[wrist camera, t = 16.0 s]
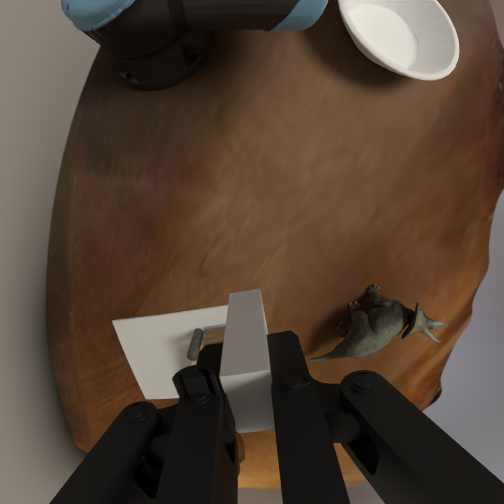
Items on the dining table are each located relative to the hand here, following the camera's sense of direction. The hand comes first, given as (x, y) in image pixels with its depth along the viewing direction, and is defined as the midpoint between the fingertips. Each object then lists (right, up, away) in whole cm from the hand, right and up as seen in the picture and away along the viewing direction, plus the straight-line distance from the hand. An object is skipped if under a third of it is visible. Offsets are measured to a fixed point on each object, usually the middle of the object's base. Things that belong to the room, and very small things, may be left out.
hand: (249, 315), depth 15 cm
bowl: (+22, +39, +21) cm, 50 cm away
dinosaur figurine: (+18, -7, +33) cm, 38 cm away
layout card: (-10, -15, +34) cm, 39 cm away
